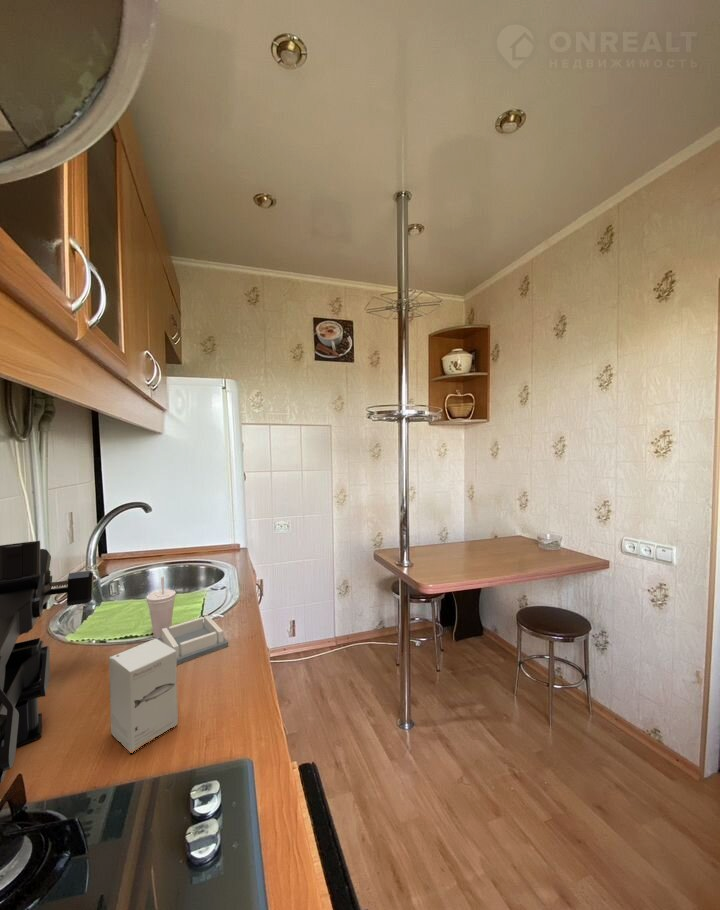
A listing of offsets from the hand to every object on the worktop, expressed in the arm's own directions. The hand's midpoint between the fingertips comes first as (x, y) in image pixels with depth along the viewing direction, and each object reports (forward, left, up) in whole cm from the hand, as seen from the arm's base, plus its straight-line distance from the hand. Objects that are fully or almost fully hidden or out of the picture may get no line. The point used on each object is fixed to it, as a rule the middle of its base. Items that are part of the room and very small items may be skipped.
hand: (43, 587), depth 80 cm
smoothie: (-4, -22, -16) cm, 27 cm away
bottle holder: (-14, -26, -16) cm, 33 cm away
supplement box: (-36, -12, -16) cm, 42 cm away
